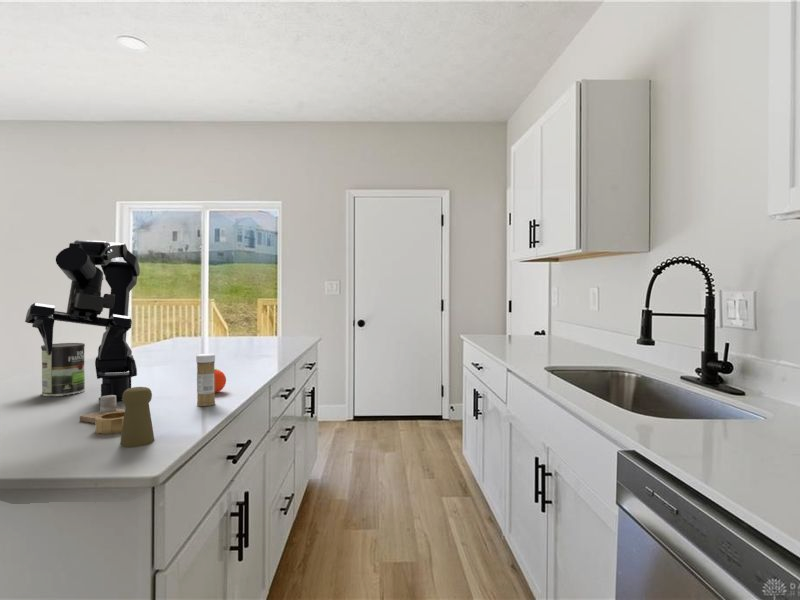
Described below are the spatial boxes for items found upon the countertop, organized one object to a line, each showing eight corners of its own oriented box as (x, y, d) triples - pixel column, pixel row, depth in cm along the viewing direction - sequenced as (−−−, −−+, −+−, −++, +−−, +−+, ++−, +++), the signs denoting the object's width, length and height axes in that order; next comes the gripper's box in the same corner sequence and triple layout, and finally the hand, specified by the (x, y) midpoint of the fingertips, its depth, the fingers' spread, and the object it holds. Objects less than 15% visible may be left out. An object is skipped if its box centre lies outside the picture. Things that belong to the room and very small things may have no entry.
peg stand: (112, 412, 114) (112, 391, 114) (135, 416, 111) (135, 394, 111) (79, 421, 106) (79, 398, 106) (103, 425, 103) (103, 402, 103)
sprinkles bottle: (215, 402, 125) (215, 352, 125) (214, 406, 121) (214, 355, 120) (197, 403, 123) (196, 353, 123) (195, 407, 119) (195, 355, 119)
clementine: (200, 390, 139) (200, 367, 139) (224, 388, 142) (224, 365, 142) (201, 396, 132) (201, 371, 131) (227, 394, 134) (227, 369, 134)
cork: (130, 449, 88) (129, 392, 88) (113, 443, 91) (113, 388, 91) (160, 440, 93) (160, 386, 93) (144, 435, 97) (143, 383, 96)
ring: (118, 422, 105) (118, 409, 105) (140, 426, 103) (140, 413, 102) (88, 431, 99) (87, 417, 99) (110, 435, 96) (110, 421, 96)
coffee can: (93, 389, 140) (92, 342, 139) (68, 397, 129) (67, 347, 129) (59, 388, 140) (59, 342, 139) (32, 396, 129) (31, 346, 129)
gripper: (42, 267, 93) (27, 341, 87) (142, 286, 106) (135, 351, 100) (31, 286, 100) (17, 356, 94) (127, 302, 113) (120, 364, 107)
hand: (75, 357), depth 99 cm, fingers open, 9 cm apart
